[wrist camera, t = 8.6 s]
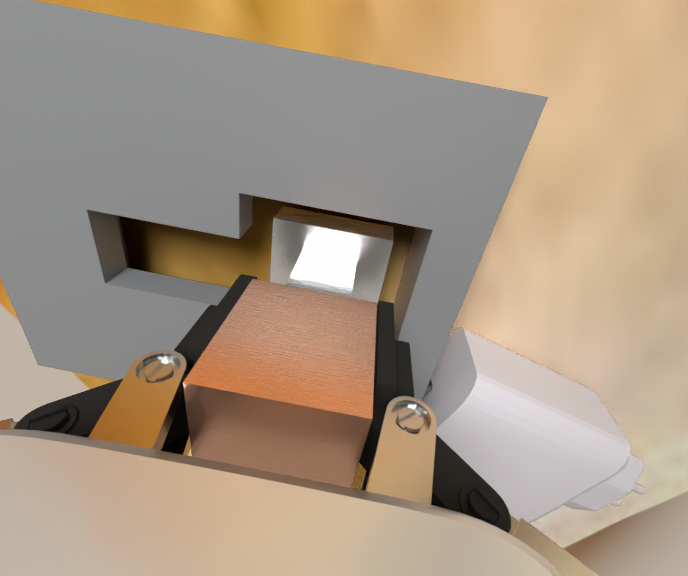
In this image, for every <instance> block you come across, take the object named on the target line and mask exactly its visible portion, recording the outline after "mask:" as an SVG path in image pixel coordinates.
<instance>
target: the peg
mask: <svg viewBox="0 0 688 576" xmlns="http://www.w3.org/2000/svg"><path fill="white" fill-rule="evenodd" d="M393 242H394V238H393V227H391V226H386V225H380V224H375V223H370V222H365V221H359V220H354V219H349V218H344V217H338V216H333V215H328V214H323V213H317V212H312V211H307V210H302V209H296V208H291V207H286V206H283V207H282V208H281V209H280V210H279V212H278V213H277V214H276V215H275V216H274V218H273V231H272V250H271V268H270V282H267V281H262V280H257V279H252V281H251V282H250V284H249V285H248V286H247V288H246V289H245V291H244V292H243V294H242V295H241V297H240V298H239V300H238V301H237V303H236V304H235V306H234V307H233V309H232V310H231V312H230V313H229V315H228V316H227V318H226V319H225V321H224V322H223V324H222V325H221V327H220V328H219V330H218V331H217V333H216V334H215V336H214V337H213V338H212V340H211V341H210V343H209V344H208V346H207V347H206V349H205V350H204V352H203V353H202V355H201V356H200V358H199V359H198V361H197V362H196V364H195V365H194V367H193V368H192V370H191V371H190V373H189V374H188V376H187V377H186V379H185V380H184V382H183V387H184V395H185V403H186V411H187V419H188V427H189V435H190V443H191V452H192V457H196V458H201V459H206V460H211V461H216V462H221V463H227V464H232V465H237V466H242V467H247V468H252V469H257V470H263V471H268V472H273V473H278V474H283V475H288V476H293V477H298V478H303V479H308V480H313V481H318V482H323V483H328V484H333V485H338V486H343V487H348V488H351V486H352V483H353V480H354V476H355V473H356V470H357V467H358V464H359V460H360V457H361V454H362V451H363V448H364V445H365V441H366V438H367V435H368V432H369V429H370V425H371V422H372V418H373V392H374V366H375V341H376V315H377V303H378V300H379V296H380V293H381V289H382V285H383V281H384V277H385V273H386V269H387V265H388V261H389V257H390V253H391V250H392V246H393Z"/></svg>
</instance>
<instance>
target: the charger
mask: <svg viewBox="0 0 688 576" xmlns="http://www.w3.org/2000/svg"><path fill="white" fill-rule="evenodd" d="M422 402H424V403H425V404H426V405H428V407H429V408H430V409H431V410H432V411H433V413H434V415H435V417H436V423H437V429H436V434H437V435H438V436H439V437H440V438H441V439H442V440H443V441H444V442H445V443H446V444H447V445H448V446H449V447H450V448H451V449H452V450H453V451H455V452H456V453H457V454H458V455H459V456H460V457H461V458H462V459H463V460H464V461H465V462H466V463H467V464H468V465H469V466H470V467H471V468H472V469H473V470H474V471H475V472H476V473H477V474H478V475H480V476H481V477H482V478H483V479H484V480H485V481H486V482H487V483H488V484H489V485H490V486H491V487H492V488H493V489H494V490H495V491H496V492H497V493H498V494H499V495H500V497H501V498H502V499H503V500H504V502H505V504H506V506H507V508H508V510H509V513H510V515H512V516H513V517H514V518H516V519H517V520H518V521H519V519H520V518H523V519H524V520H525V521H527V522H528V523H530V522H533V521H535V520H537V519H539V518H541V517H543V516H544V515H546V514H548V513H550V512H552V511H553V510H555V509H557V508H559V507H560V506H562V505H566V506H568V507H570V508H573V509H582V510H591V511H596V510H598V509H600V508H602V507H604V506H606V505H608V504H612V505H615V506H620V505H621V500H620V499H619V498H621V497H623V496H625V495H627V494H629V493H630V491H631V490H632V491H634V492H637V493H639V494H643V493H645V487H643V486H641V485H639V484H637V483H636V481H637V479H638V478H639V476H640V474H641V473H642V471H643V460H642V459H639V458H637V457H635V456H633V455H630V451H631V446H630V443H629V441H628V439H627V438H626V436H625V435H624V433H623V432H622V430H621V429H620V427H619V426H618V424H617V423H616V421H615V420H614V418H613V417H612V415H611V414H610V412H609V411H608V409H607V408H606V406H605V405H604V403H603V402H602V400H601V399H600V397H599V396H598V394H597V393H596V392H595V391H593V390H592V389H589V388H587V387H585V386H583V385H581V384H579V383H577V382H575V381H573V380H571V379H569V378H566V377H564V376H562V375H560V374H558V373H556V372H554V371H552V370H550V369H548V368H546V367H544V366H541V365H539V364H537V363H535V362H533V361H531V360H529V359H527V358H525V357H523V356H521V355H518V354H516V353H514V352H512V351H510V350H508V349H506V348H504V347H502V346H500V345H498V344H495V343H493V342H491V341H489V340H487V339H485V338H483V337H481V336H479V335H477V334H475V333H472V332H470V331H468V330H466V329H464V328H462V327H461V328H457V329H455V330H454V331H453V332H452V333H451V334H450V336H449V337H448V339H447V341H446V343H445V346H444V348H443V350H442V353H441V355H440V358H439V360H438V362H437V365H436V367H435V370H434V372H433V374H432V377H431V379H430V382H429V384H428V386H427V389H426V391H425V394H424V396H423V398H422Z"/></svg>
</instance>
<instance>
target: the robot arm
mask: <svg viewBox="0 0 688 576" xmlns="http://www.w3.org/2000/svg"><path fill="white" fill-rule="evenodd" d="M252 279H257V277H254V276H248V275H243V274H241V275H240V276H239V277H238V279H237V280H236V281H235V283H234V284H233V285H232V287H231V288H230V289H229V291H228V292H227V293H226V295H225V296H224V297H223V299H222V300H221V301H220V303H219V304H218V305H210V306H209V307H207V309H206V310H205V311H204V312H203V314H202V315H201V316H200V318H199V319H198V320H197V321H196V323H195V324H194V325H193V326H192V328H191V329H190V330H189V332H188V333H187V334H186V335H185V337H184V338H183V339H182V340H181V342H180V343H179V344H178V345H177V347H176V348H175V349H174V351H171V350H158V351H154V352H150V353H148V354H145V355H143V356H141V357H140V358H138V359H137V360H136V361H135V362H134V363H133V364H132V365H131V367H130V369H129V370H128V372H127V374H126V375H125V377H124V378H123V379H120V380H117V381H114V382H111V383H108V384H105V385H102V386H99V387H96V388H93V389H90V390H87V391H84V392H81V393H78V394H75V395H72V396H69V397H66V398H63V399H60V400H57V401H54V402H51V403H48V404H46V405H43V406H41V407H39V408H37V409H35V410H33V411H31V412H30V413H28V414H27V415H25V416H24V417H23V418H22V419H21V420H20V421H19V422H14V421H13V419H12V418H11V419H7V420H2V421H0V576H599V575H598V574H596V573H595V572H594V571H592V570H591V569H590V568H588V567H587V566H585V565H584V564H583V563H582V562H580V561H579V560H578V559H576V558H575V557H574V556H572V555H571V554H570V553H568V552H567V551H566V550H564V549H563V548H561V547H560V546H559V545H557V544H556V543H555V542H553V541H552V540H551V539H549V538H548V537H547V536H545V535H544V534H543V533H541V532H540V531H539V530H537V529H536V528H535V527H533V526H532V525H531V524H529V523H528V522H527V521H525V520H524V519H523V518H520V519H519V521H518V520H517V519H516V518H514V517H513V516H512V515H510V513H509V510H508V508H507V506H506V504H505V502H504V500H503V499H502V498H501V497H500V495H499V494H498V493H497V492H496V491H495V490H494V489H493V488H492V487H491V486H490V485H489V484H488V483H487V482H486V481H485V480H484V479H483V478H482V477H481V476H480V475H478V474H477V473H476V472H475V471H474V470H473V469H472V468H471V467H470V466H469V465H468V464H467V463H466V462H465V461H464V460H463V459H462V458H461V457H460V456H459V455H458V454H457V453H456V452H455V451H453V450H452V449H451V448H450V447H449V446H448V445H447V444H446V443H445V442H444V441H443V440H442V439H441V438H440V437H439V436H438V435H437V434H436V429H437V423H436V417H435V415H434V413H433V411H432V410H431V409H430V408H429V407H428V405H426V404H425V403H424V402H422V401H421V400H418V399H416V398H415V397H414V386H413V375H412V364H411V353H410V344H409V342H404V341H399V340H395V326H394V304H393V303H389V302H384V301H378V303H377V315H376V341H375V366H374V392H373V418H372V422H371V425H370V429H369V432H368V435H367V438H366V441H365V445H364V448H363V451H362V454H361V457H360V460H359V462H360V464H361V465H362V466H363V467H364V469H365V474H364V478H363V482H362V486H361V490H358V489H353V488H348V487H343V486H338V485H333V484H328V483H323V482H318V481H313V480H308V479H303V478H298V477H293V476H288V475H283V474H278V473H273V472H268V471H263V470H257V469H252V468H247V467H242V466H237V465H232V464H227V463H221V462H216V461H211V460H206V459H201V458H196V457H190V456H188V454H189V451H190V447H191V443H190V435H189V427H188V419H187V411H186V403H185V395H184V387H183V382H184V380H185V379H186V377H187V376H188V374H189V373H190V371H191V370H192V368H193V367H194V365H195V364H196V362H197V361H198V359H199V358H200V356H201V355H202V353H203V352H204V350H205V349H206V347H207V346H208V344H209V343H210V341H211V340H212V338H213V337H214V336H215V334H216V333H217V331H218V330H219V328H220V327H221V325H222V324H223V322H224V321H225V319H226V318H227V316H228V315H229V313H230V312H231V310H232V309H233V307H234V306H235V304H236V303H237V301H238V300H239V298H240V297H241V295H242V294H243V292H244V291H245V289H246V288H247V286H248V285H249V284H250V282H251V281H252ZM257 280H258V279H257Z"/></svg>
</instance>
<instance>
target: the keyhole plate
mask: <svg viewBox="0 0 688 576" xmlns="http://www.w3.org/2000/svg"><path fill="white" fill-rule="evenodd" d="M547 99H548V97H544V96H538V95H533V94H528V93H522V92H517V91H512V90H506V89H501V88H496V87H490V86H485V85H480V84H475V83H469V82H464V81H459V80H453V79H448V78H443V77H437V76H432V75H427V74H421V73H416V72H411V71H405V70H400V69H395V68H389V67H384V66H379V65H373V64H368V63H363V62H358V61H352V60H347V59H342V58H336V57H331V56H326V55H320V54H315V53H310V52H304V51H299V50H294V49H288V48H283V47H278V46H272V45H267V44H262V43H256V42H251V41H246V40H241V39H235V38H230V37H225V36H219V35H214V34H209V33H203V32H198V31H193V30H187V29H182V28H177V27H171V26H166V25H161V24H155V23H150V22H145V21H139V20H134V19H129V18H124V17H118V16H113V15H108V14H102V13H97V12H92V11H86V10H81V9H76V8H70V7H65V6H60V5H54V4H49V3H44V2H38V1H33V0H0V278H1V280H2V282H3V285H4V287H5V289H6V292H7V294H8V296H9V298H10V301H11V303H12V305H13V308H14V310H15V312H16V315H17V317H18V319H19V322H20V324H21V326H22V328H23V331H24V333H25V335H26V338H27V340H28V342H29V345H30V347H31V349H32V351H33V354H34V356H35V358H36V361H37V363H38V365H40V366H45V367H51V368H56V369H61V370H66V371H71V372H76V373H81V374H86V375H91V376H96V377H101V378H106V379H111V380H120V379H123V378H124V377H125V375H126V374H127V372H128V370H129V369H130V367H131V365H132V364H133V363H134V362H135V361H136V360H137V359H138V358H140V357H141V356H143V355H145V354H148V353H150V352H154V351H158V350H171V351H174V349H175V348H176V347H177V345H178V344H179V343H180V342H181V340H182V339H183V338H184V337H185V335H186V334H187V333H188V332H189V330H190V329H191V328H192V326H193V325H194V324H195V323H196V321H197V320H198V319H199V318H200V316H201V315H202V314H203V312H204V311H205V310H206V309H207V307H209V306H210V305H218V304H219V303H220V301H221V300H222V299H223V297H224V296H225V295H226V293H227V292H228V291H229V289H230V288H229V287H224V286H219V285H213V284H208V283H203V282H198V281H193V280H188V279H182V278H177V277H172V276H167V275H162V274H157V273H152V272H146V271H141V270H136V269H131V268H130V265H129V260H128V255H127V250H126V245H125V240H124V235H123V230H122V224H121V219H120V216H123V217H128V218H133V219H139V220H144V221H149V222H154V223H159V224H164V225H170V226H175V227H180V228H185V229H190V230H196V231H201V232H206V233H211V234H216V235H221V236H227V237H232V238H237V239H240V238H241V237H242V235H243V234H244V233H245V232H246V231H247V230H248V229H249V228H250V227H251V226H252V214H253V196H258V197H263V198H268V199H273V200H279V201H284V202H289V203H294V204H299V205H305V206H310V207H315V208H320V209H326V210H331V211H336V212H341V213H346V214H352V215H357V216H362V217H367V218H372V219H378V220H383V221H388V222H393V223H399V224H404V225H409V226H414V227H416V229H415V233H414V236H413V240H412V243H411V246H410V250H409V253H408V257H407V260H406V264H405V267H404V271H403V274H402V278H401V281H400V285H399V288H398V292H397V295H396V298H395V302H394V326H395V340H399V341H404V342H409V344H410V353H411V364H412V375H413V386H414V397H415V398H416V399H418V400H421V401H422V398H423V396H424V394H425V391H426V389H427V386H428V384H429V382H430V379H431V377H432V374H433V372H434V370H435V367H436V365H437V362H438V360H439V358H440V355H441V353H442V350H443V348H444V346H445V343H446V341H447V339H448V336H449V334H450V331H451V329H452V327H453V324H454V322H455V319H456V317H457V315H458V312H459V310H460V307H461V305H462V303H463V300H464V298H465V295H466V293H467V291H468V288H469V286H470V283H471V281H472V279H473V276H474V274H475V271H476V269H477V267H478V264H479V262H480V259H481V257H482V255H483V252H484V250H485V247H486V245H487V243H488V240H489V238H490V235H491V233H492V231H493V228H494V226H495V223H496V221H497V219H498V216H499V214H500V211H501V209H502V207H503V204H504V202H505V199H506V197H507V195H508V192H509V190H510V187H511V185H512V183H513V180H514V178H515V175H516V173H517V171H518V168H519V166H520V163H521V161H522V159H523V156H524V154H525V151H526V149H527V147H528V144H529V142H530V140H531V137H532V135H533V132H534V130H535V128H536V125H537V123H538V120H539V118H540V116H541V113H542V111H543V108H544V106H545V104H546V101H547Z"/></svg>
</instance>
